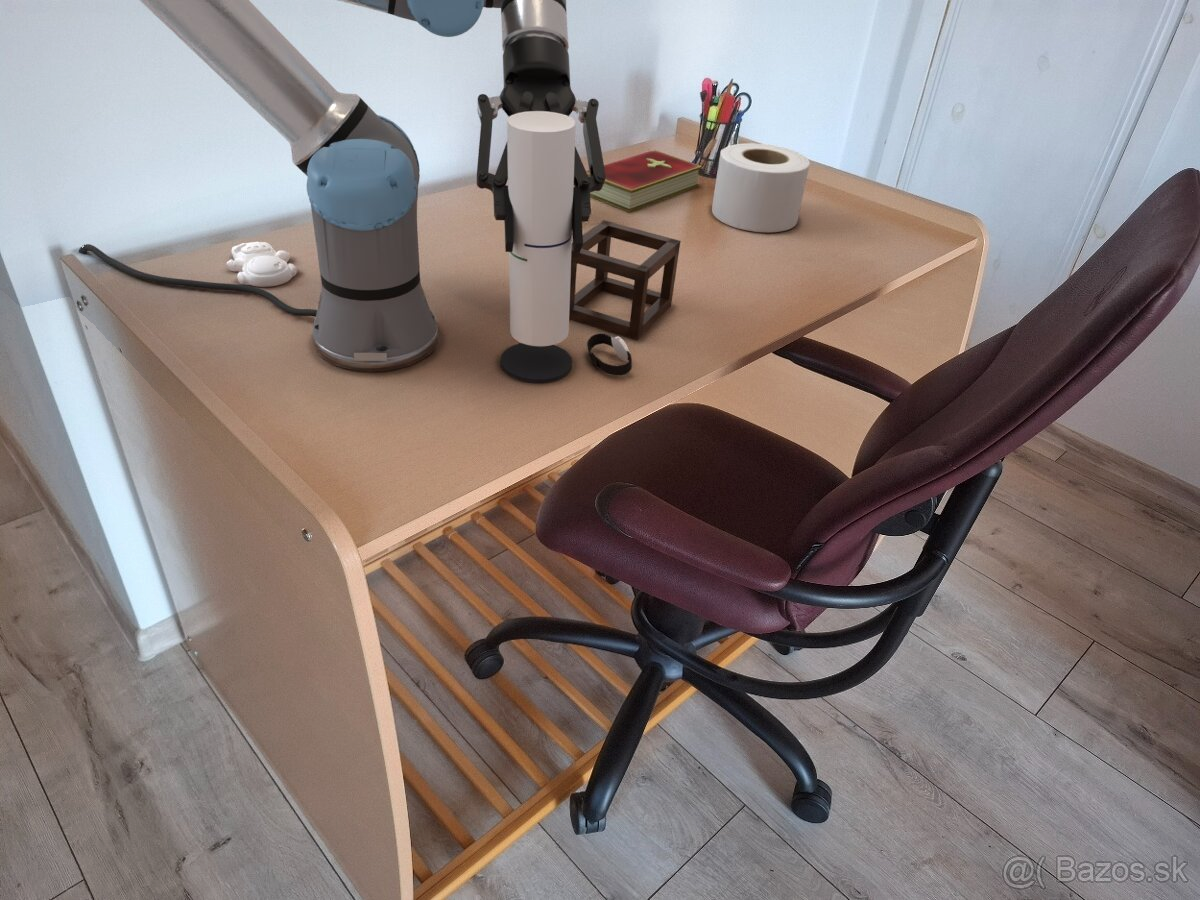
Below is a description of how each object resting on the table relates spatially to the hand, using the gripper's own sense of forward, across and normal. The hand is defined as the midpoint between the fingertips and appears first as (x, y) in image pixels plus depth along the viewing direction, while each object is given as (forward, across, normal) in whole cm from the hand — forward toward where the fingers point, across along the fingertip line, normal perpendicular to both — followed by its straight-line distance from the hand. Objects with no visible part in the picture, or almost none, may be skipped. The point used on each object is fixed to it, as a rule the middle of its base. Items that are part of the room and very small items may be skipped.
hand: (544, 247), depth 92 cm
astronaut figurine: (-9, +37, -33) cm, 51 cm away
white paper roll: (-25, -44, -50) cm, 71 cm away
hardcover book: (-33, -25, -58) cm, 72 cm away
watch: (+10, -9, -15) cm, 20 cm away
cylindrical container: (+7, 0, -12) cm, 13 cm away
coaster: (+10, 0, -15) cm, 18 cm away
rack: (0, -12, -24) cm, 27 cm away
